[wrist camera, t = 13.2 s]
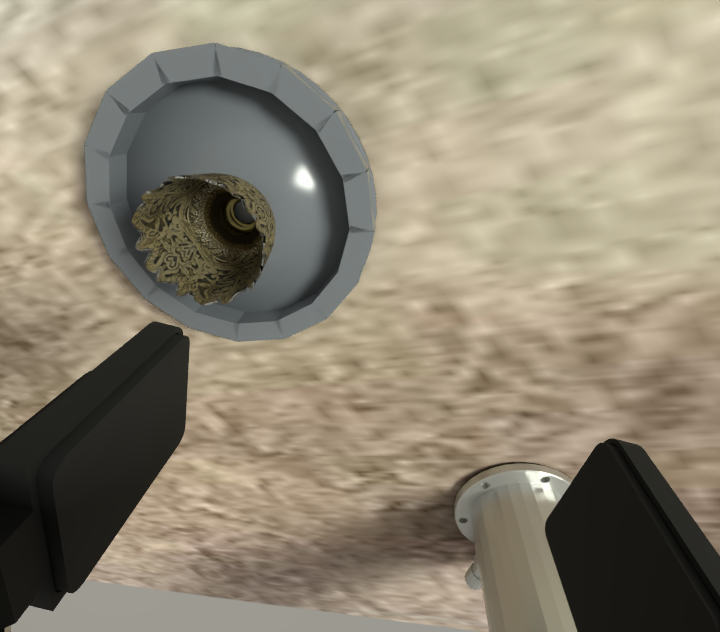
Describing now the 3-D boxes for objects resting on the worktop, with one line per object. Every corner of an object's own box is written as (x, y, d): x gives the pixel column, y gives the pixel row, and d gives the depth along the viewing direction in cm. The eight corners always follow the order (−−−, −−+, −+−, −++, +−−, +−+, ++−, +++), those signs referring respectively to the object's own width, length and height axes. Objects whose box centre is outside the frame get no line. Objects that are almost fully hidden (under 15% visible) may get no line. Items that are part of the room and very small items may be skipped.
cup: (233, 275, 32) (186, 323, 25) (174, 188, 30) (103, 215, 22) (314, 235, 30) (288, 276, 23) (259, 137, 27) (210, 150, 20)
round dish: (338, 353, 36) (334, 370, 33) (109, 288, 35) (88, 301, 32) (414, 102, 26) (416, 102, 24) (103, 3, 25) (73, -7, 23)
